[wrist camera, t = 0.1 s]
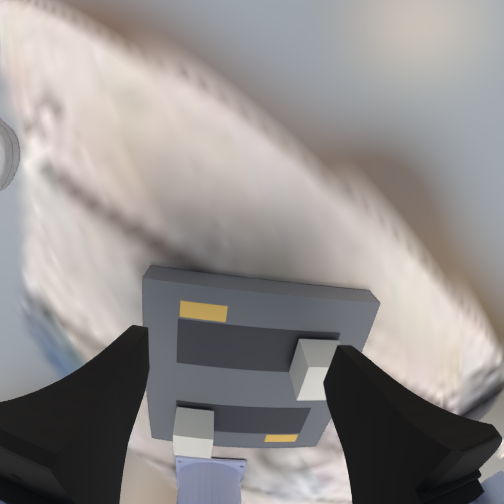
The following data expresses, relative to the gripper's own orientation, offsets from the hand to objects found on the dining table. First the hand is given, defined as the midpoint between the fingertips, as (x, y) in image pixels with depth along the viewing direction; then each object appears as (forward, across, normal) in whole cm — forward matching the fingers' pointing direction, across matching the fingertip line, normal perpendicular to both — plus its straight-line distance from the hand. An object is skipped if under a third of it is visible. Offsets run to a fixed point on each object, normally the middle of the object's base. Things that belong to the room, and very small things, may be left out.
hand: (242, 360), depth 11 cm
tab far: (+8, +2, +14) cm, 16 cm away
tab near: (+8, -6, +5) cm, 11 cm away
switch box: (+10, -2, +10) cm, 14 cm away
